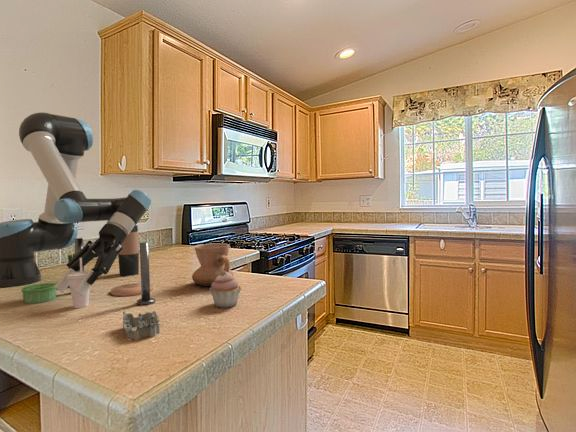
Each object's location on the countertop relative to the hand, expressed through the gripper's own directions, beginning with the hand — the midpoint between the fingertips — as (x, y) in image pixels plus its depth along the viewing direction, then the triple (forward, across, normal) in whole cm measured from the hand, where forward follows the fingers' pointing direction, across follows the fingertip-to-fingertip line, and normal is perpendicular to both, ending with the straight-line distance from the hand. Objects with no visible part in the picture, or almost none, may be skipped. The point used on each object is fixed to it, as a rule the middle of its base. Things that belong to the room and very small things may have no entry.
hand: (68, 291), depth 97 cm
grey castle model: (+6, -31, -2) cm, 32 cm away
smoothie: (+1, 0, -6) cm, 6 cm away
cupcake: (-11, -38, -19) cm, 44 cm away
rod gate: (-6, 0, -13) cm, 14 cm away
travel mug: (-24, +23, -32) cm, 46 cm away
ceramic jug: (-24, -20, -32) cm, 44 cm away
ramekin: (+2, +18, -6) cm, 19 cm away
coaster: (-11, 0, -19) cm, 22 cm away
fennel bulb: (-9, +25, -17) cm, 31 cm away
